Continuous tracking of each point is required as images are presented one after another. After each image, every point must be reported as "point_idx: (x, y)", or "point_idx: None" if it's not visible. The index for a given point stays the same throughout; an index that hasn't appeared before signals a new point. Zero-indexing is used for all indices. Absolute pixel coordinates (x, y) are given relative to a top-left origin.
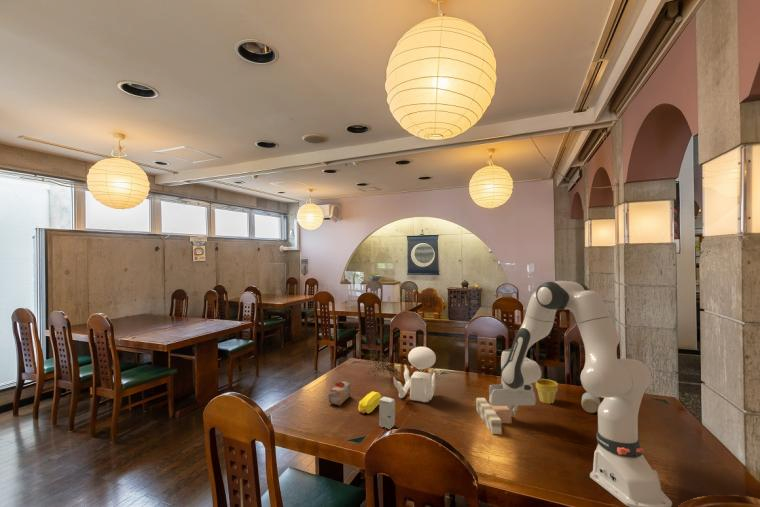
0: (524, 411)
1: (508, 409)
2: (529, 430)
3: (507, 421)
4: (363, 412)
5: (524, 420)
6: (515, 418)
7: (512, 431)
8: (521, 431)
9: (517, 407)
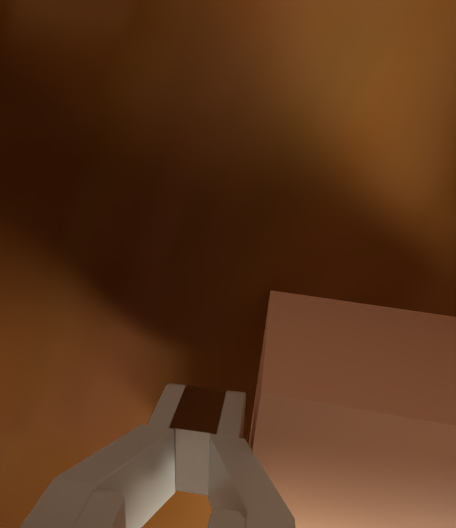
0: (17, 511)
1: None
2: (95, 41)
3: (330, 309)
4: None
5: (74, 337)
6: None
7: (390, 9)
8: (233, 6)
9: (56, 489)
